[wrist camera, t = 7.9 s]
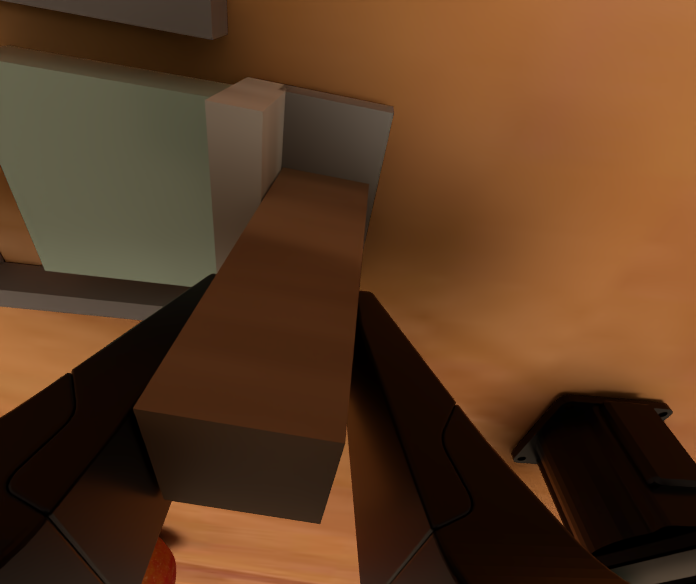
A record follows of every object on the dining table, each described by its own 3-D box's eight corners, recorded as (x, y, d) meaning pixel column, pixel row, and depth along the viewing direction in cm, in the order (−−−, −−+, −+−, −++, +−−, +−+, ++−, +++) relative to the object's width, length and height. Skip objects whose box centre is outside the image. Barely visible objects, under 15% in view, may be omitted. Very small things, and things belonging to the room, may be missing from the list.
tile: (246, 259, 14) (235, 291, 13) (78, 238, 14) (45, 270, 12) (245, 84, 11) (229, 100, 9) (14, 44, 10) (-47, 53, 8)
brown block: (353, 288, 14) (321, 564, 7) (248, 269, 14) (112, 532, 7) (393, 106, 10) (409, 331, 3) (247, 76, 10) (-66, 246, 3)
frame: (236, 302, 15) (228, 328, 14) (-11, 276, 14) (-42, 302, 13) (226, -6, 9) (210, -5, 8) (-214, -94, 8) (-307, -109, 7)
